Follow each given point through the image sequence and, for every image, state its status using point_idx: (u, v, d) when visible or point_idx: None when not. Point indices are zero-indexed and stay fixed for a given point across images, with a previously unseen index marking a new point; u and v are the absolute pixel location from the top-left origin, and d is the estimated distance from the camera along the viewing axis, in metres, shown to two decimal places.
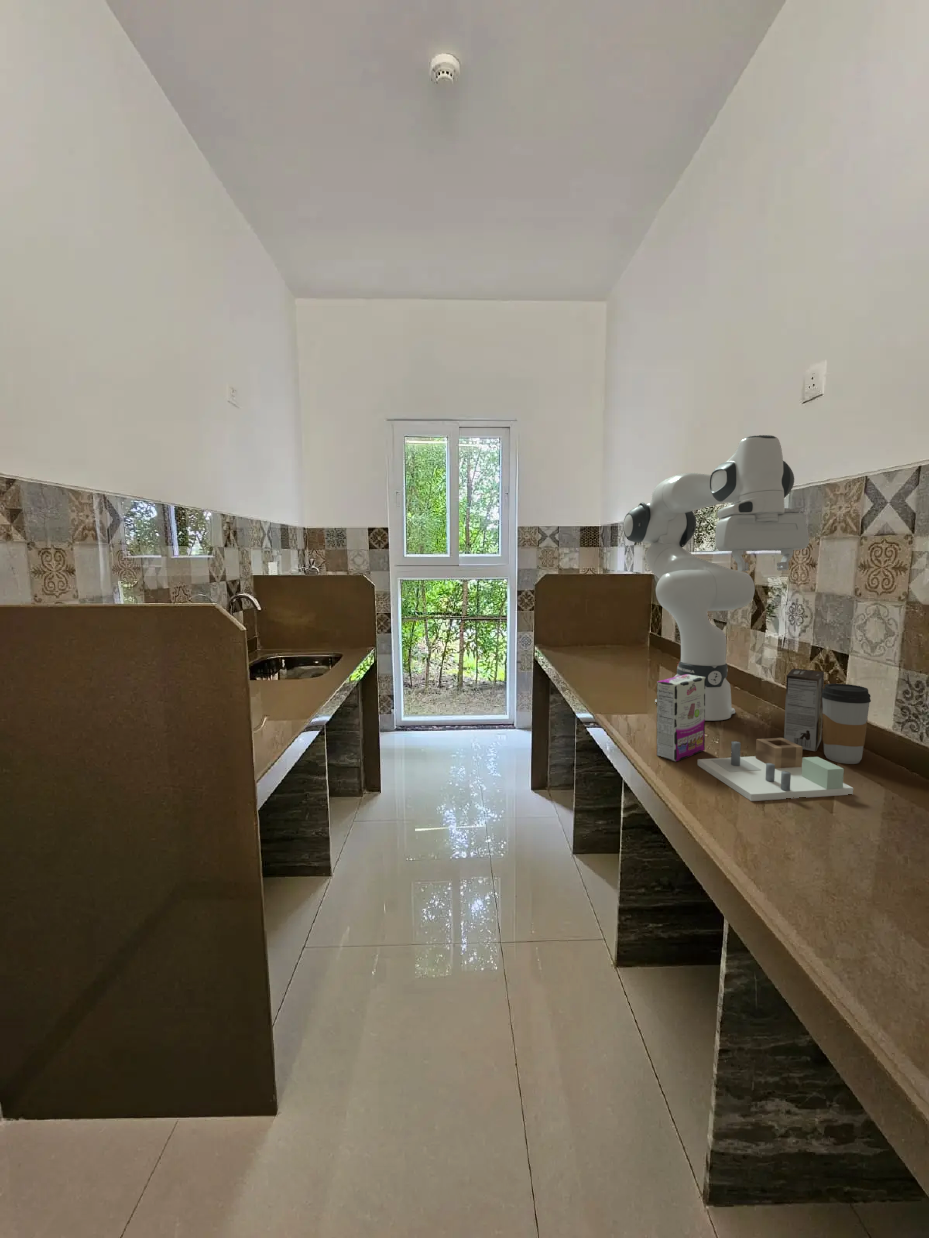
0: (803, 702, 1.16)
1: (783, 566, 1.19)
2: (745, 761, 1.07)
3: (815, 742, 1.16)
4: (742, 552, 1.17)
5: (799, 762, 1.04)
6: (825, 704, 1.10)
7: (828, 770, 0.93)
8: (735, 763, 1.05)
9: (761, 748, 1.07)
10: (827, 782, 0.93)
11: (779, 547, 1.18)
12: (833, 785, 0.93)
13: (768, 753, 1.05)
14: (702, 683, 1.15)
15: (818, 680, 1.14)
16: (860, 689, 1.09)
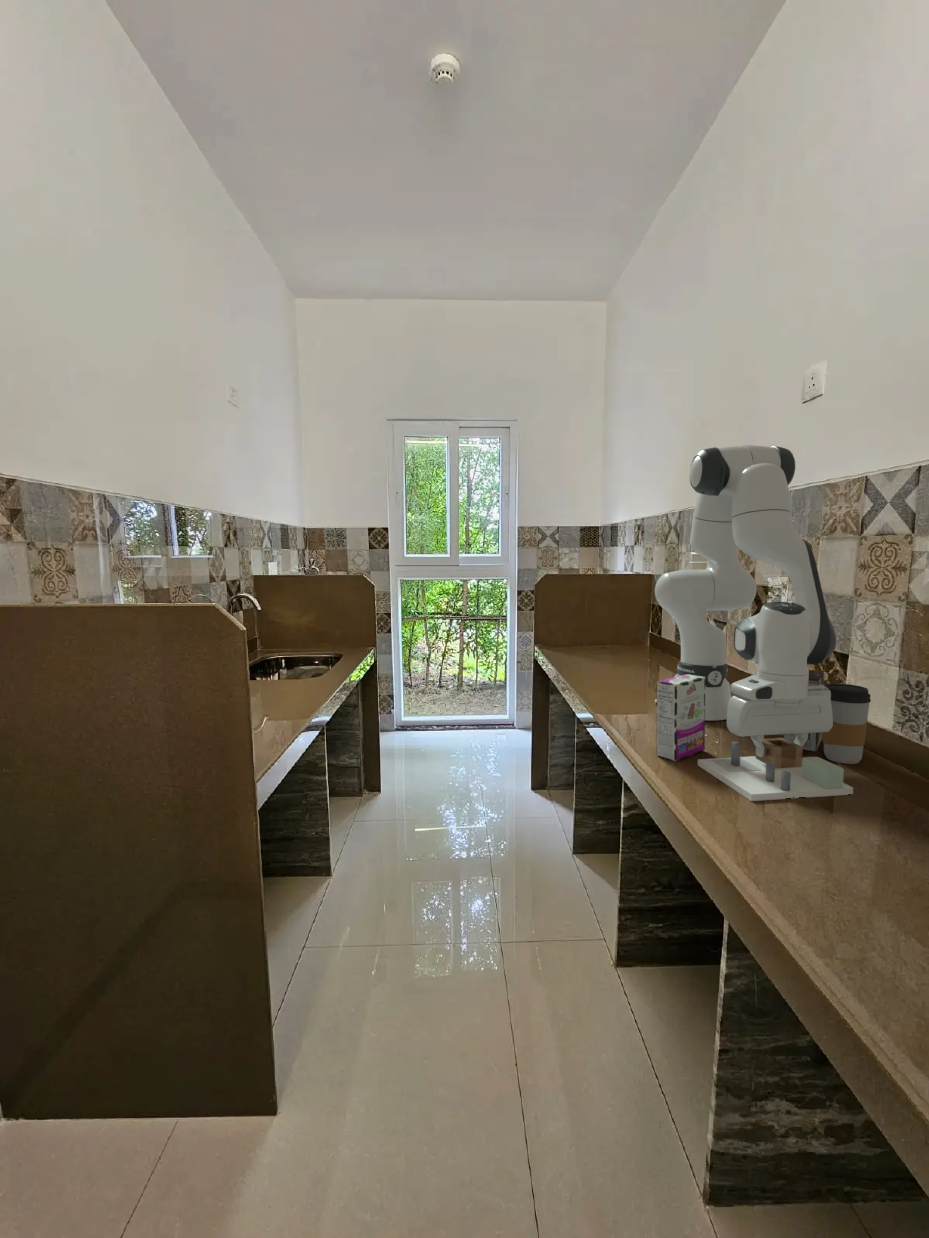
0: None
1: None
2: (745, 761, 1.07)
3: (815, 742, 1.16)
4: (762, 738, 1.04)
5: (799, 762, 1.04)
6: None
7: (828, 770, 0.93)
8: (735, 763, 1.05)
9: None
10: (827, 782, 0.93)
11: (798, 732, 1.04)
12: (833, 785, 0.93)
13: (768, 753, 1.05)
14: (701, 683, 1.15)
15: (818, 680, 1.14)
16: (860, 689, 1.09)
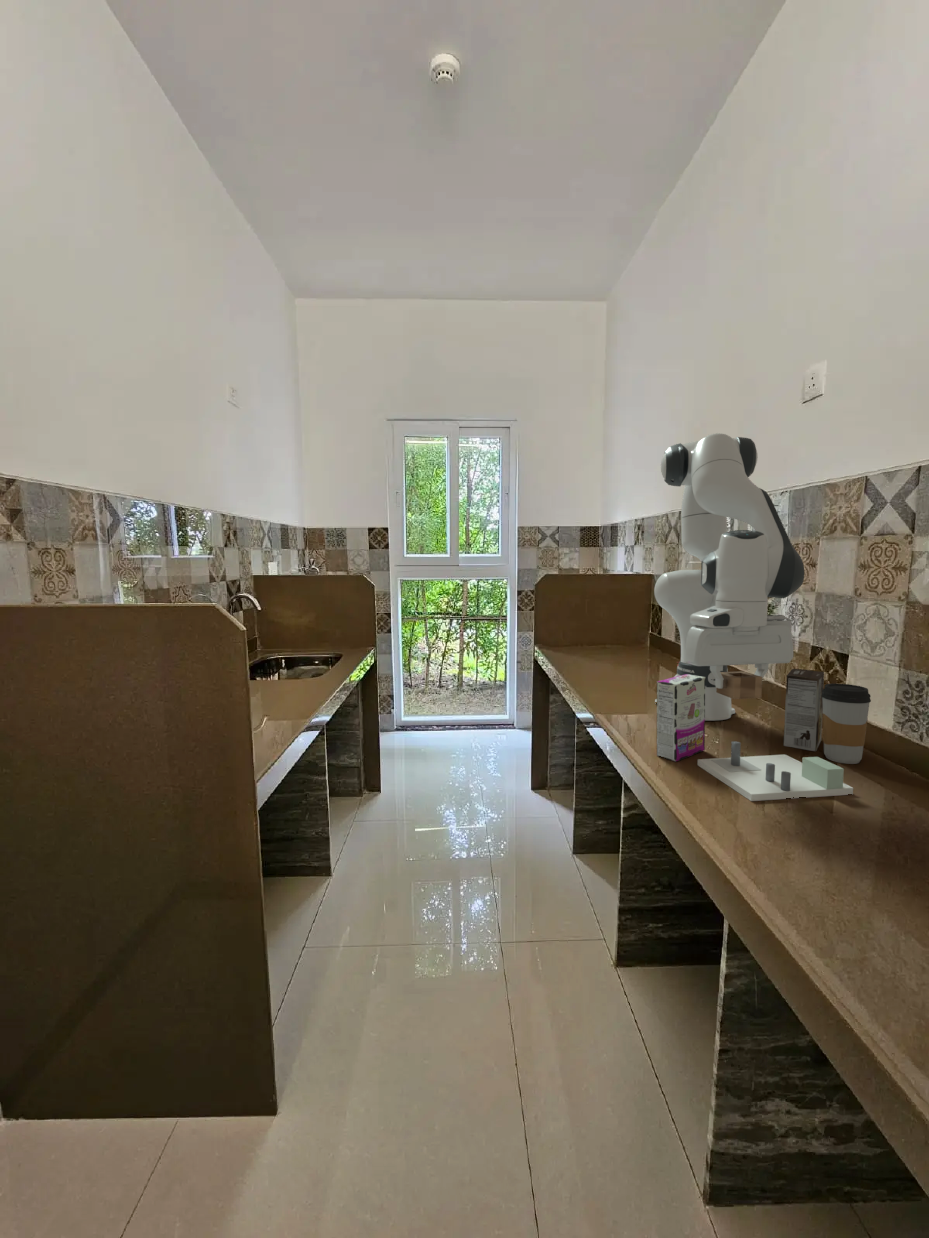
0: (803, 702, 1.16)
1: None
2: (745, 761, 1.07)
3: (815, 742, 1.16)
4: (721, 668, 1.02)
5: (759, 693, 1.01)
6: (825, 704, 1.10)
7: (828, 770, 0.93)
8: (735, 763, 1.05)
9: None
10: (827, 782, 0.93)
11: (758, 663, 1.02)
12: (833, 785, 0.93)
13: (727, 684, 1.02)
14: (701, 683, 1.15)
15: (818, 680, 1.14)
16: (860, 689, 1.09)
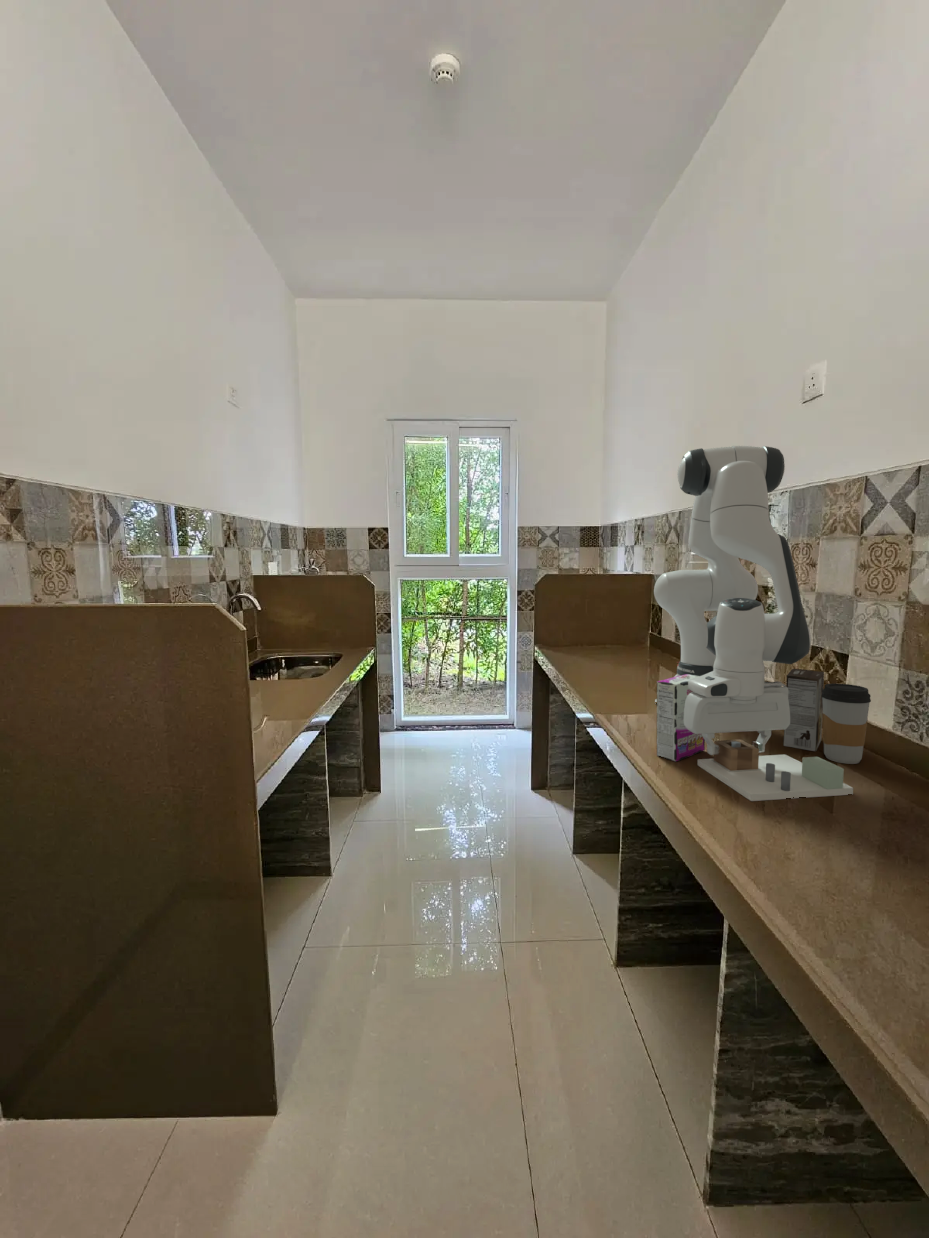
0: (803, 702, 1.16)
1: (759, 749, 1.05)
2: None
3: (815, 742, 1.16)
4: (713, 735, 1.03)
5: (755, 764, 1.03)
6: (825, 704, 1.10)
7: (828, 770, 0.93)
8: None
9: None
10: (827, 782, 0.93)
11: (755, 730, 1.03)
12: (833, 785, 0.93)
13: (725, 755, 1.04)
14: None
15: (818, 680, 1.14)
16: (860, 689, 1.09)
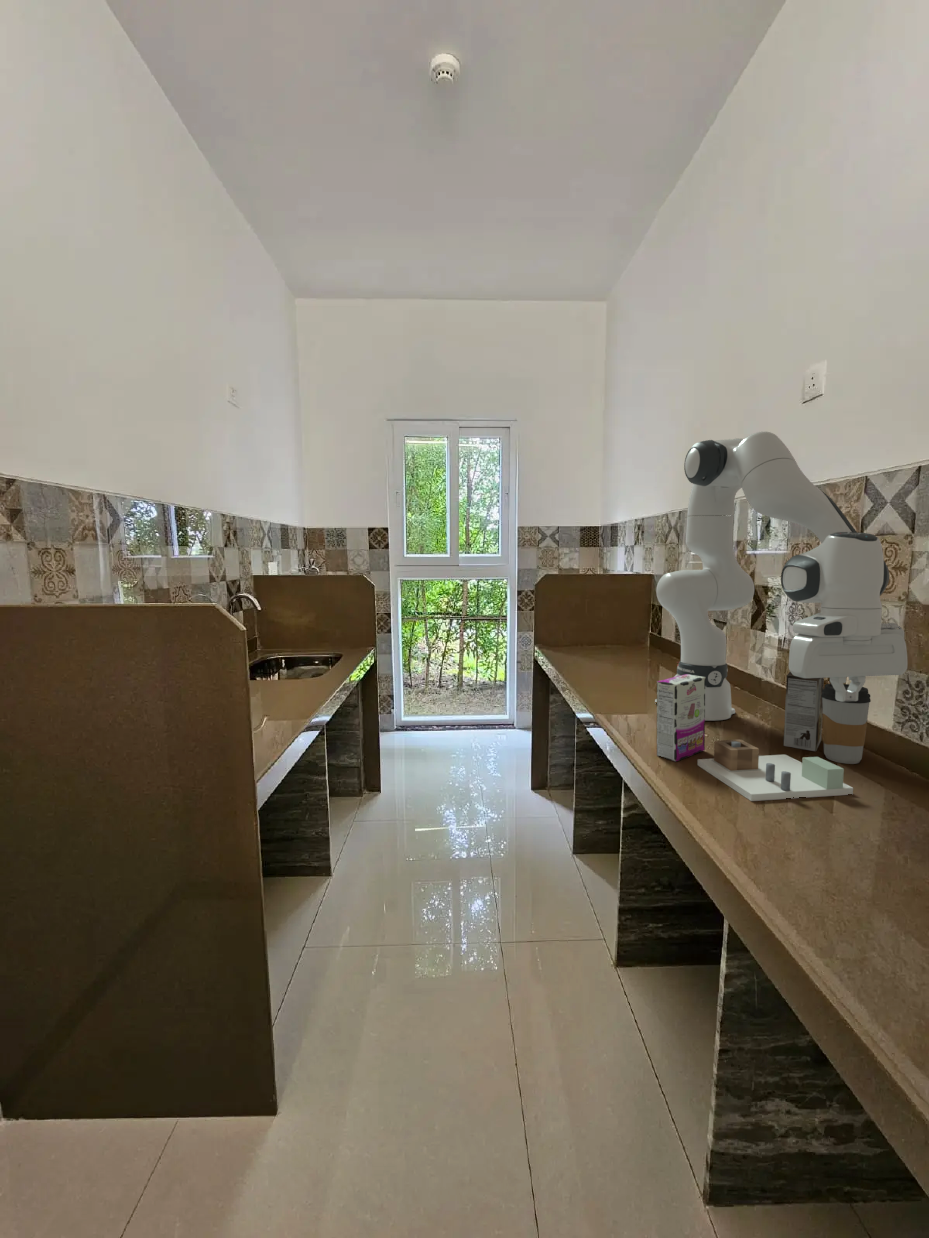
0: (803, 702, 1.16)
1: (851, 697, 0.95)
2: None
3: (815, 742, 1.16)
4: (844, 680, 0.95)
5: (755, 764, 1.03)
6: (825, 704, 1.10)
7: (828, 770, 0.93)
8: None
9: (718, 750, 1.06)
10: (827, 782, 0.93)
11: (870, 675, 0.95)
12: (833, 785, 0.93)
13: (725, 755, 1.04)
14: (701, 683, 1.15)
15: (818, 680, 1.14)
16: None
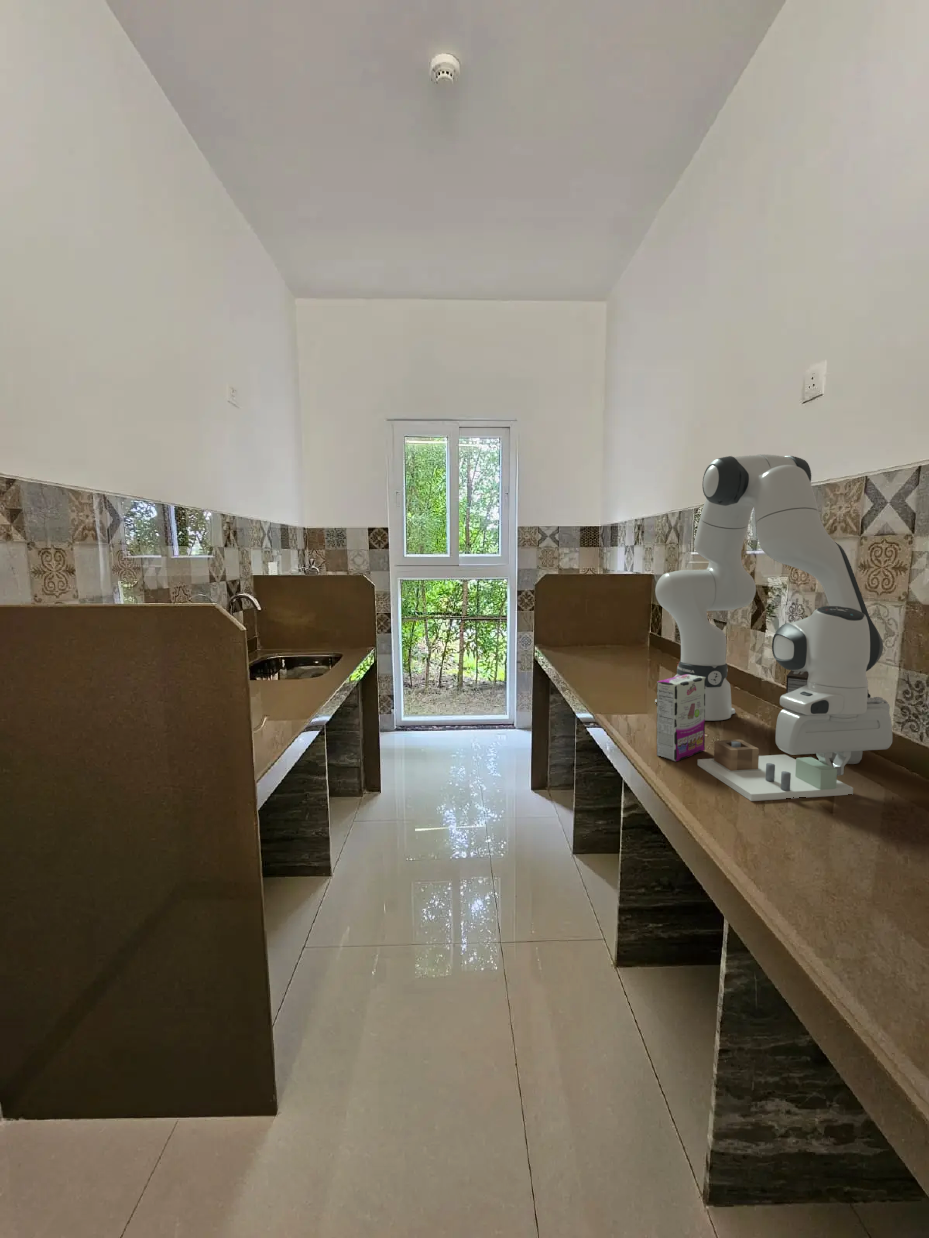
0: None
1: (837, 771, 0.96)
2: None
3: None
4: (830, 755, 0.95)
5: (755, 764, 1.03)
6: None
7: (821, 770, 0.93)
8: None
9: (718, 750, 1.06)
10: (820, 783, 0.93)
11: (855, 750, 0.95)
12: (826, 785, 0.93)
13: (725, 755, 1.04)
14: (702, 683, 1.15)
15: None
16: None
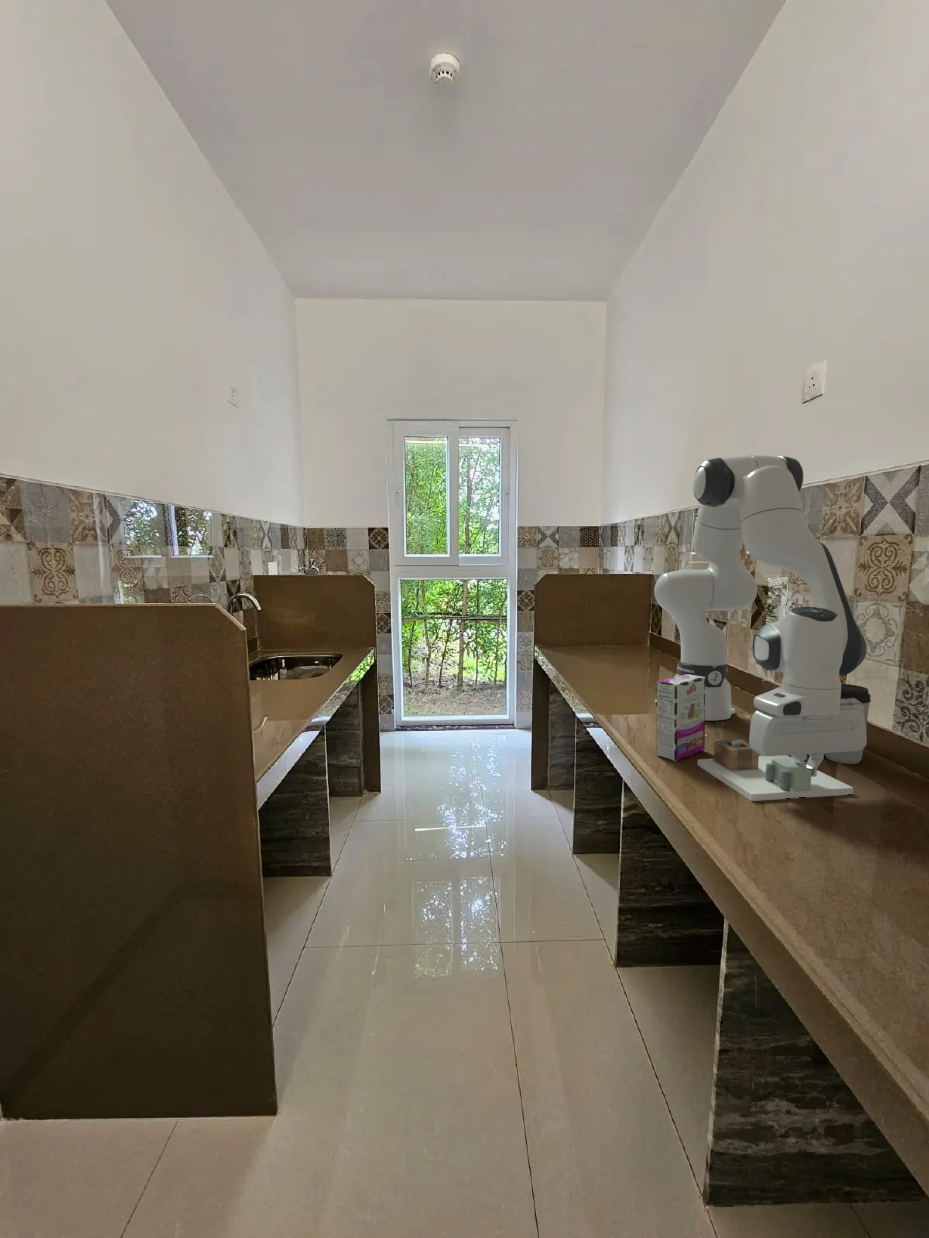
0: None
1: None
2: None
3: None
4: (805, 756, 0.94)
5: (755, 764, 1.03)
6: None
7: (795, 772, 0.92)
8: None
9: (718, 750, 1.06)
10: (795, 784, 0.93)
11: (829, 751, 0.94)
12: (801, 787, 0.93)
13: (725, 755, 1.04)
14: (701, 683, 1.15)
15: None
16: (860, 689, 1.09)
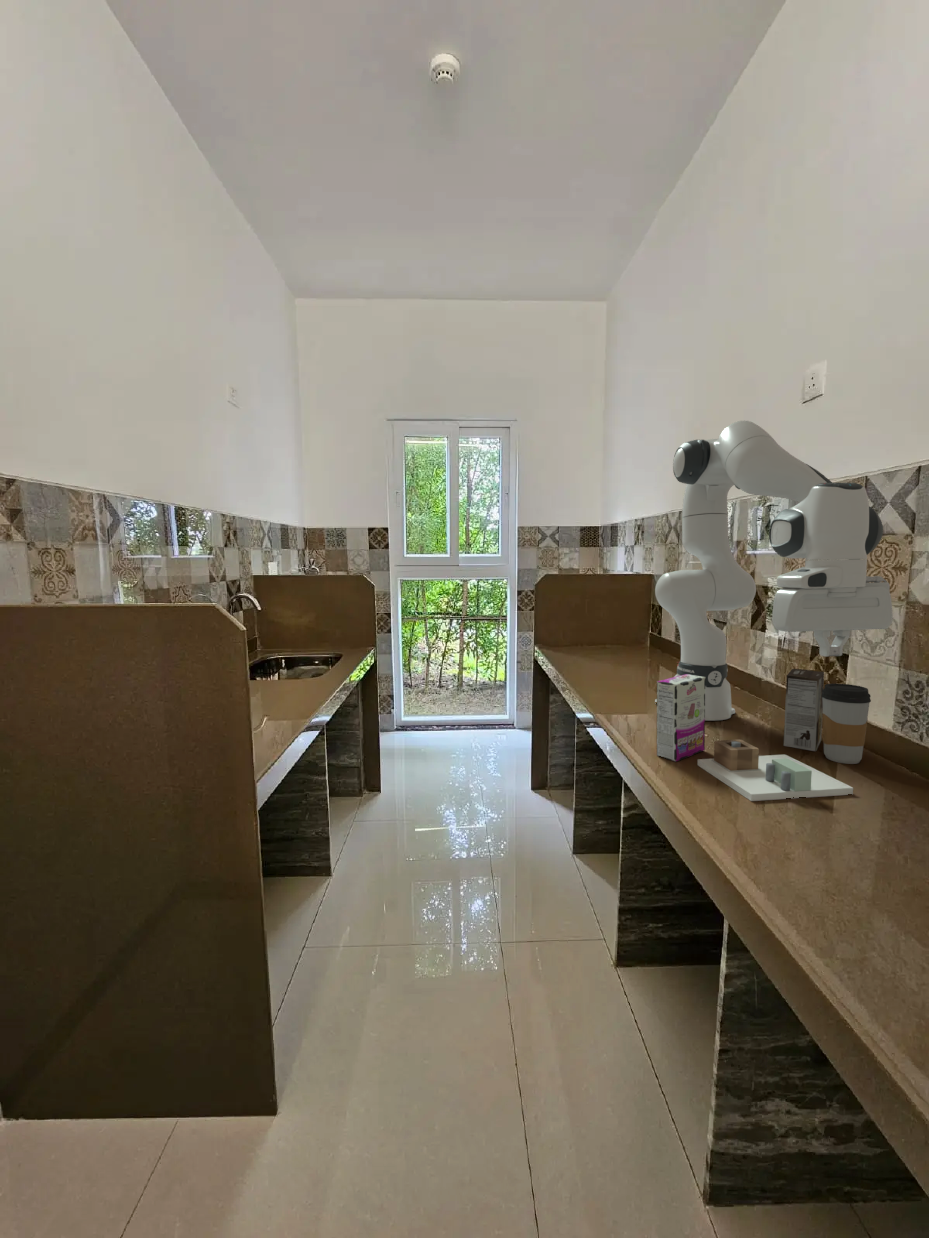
0: (803, 702, 1.16)
1: (836, 652, 0.93)
2: None
3: (815, 742, 1.16)
4: (828, 634, 0.93)
5: (755, 764, 1.03)
6: (825, 704, 1.10)
7: (795, 772, 0.92)
8: None
9: (718, 750, 1.06)
10: (795, 784, 0.93)
11: (854, 628, 0.93)
12: (801, 787, 0.93)
13: (725, 755, 1.04)
14: (702, 683, 1.15)
15: (818, 680, 1.14)
16: (860, 689, 1.09)
